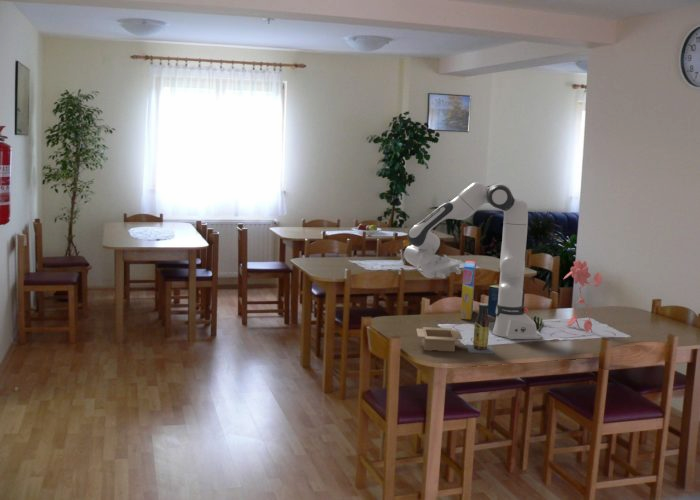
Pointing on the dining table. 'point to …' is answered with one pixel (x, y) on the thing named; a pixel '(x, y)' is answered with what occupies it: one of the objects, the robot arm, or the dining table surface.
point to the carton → (439, 338)
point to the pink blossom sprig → (581, 274)
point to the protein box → (496, 299)
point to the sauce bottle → (481, 328)
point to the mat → (474, 350)
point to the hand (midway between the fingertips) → (452, 274)
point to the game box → (468, 290)
